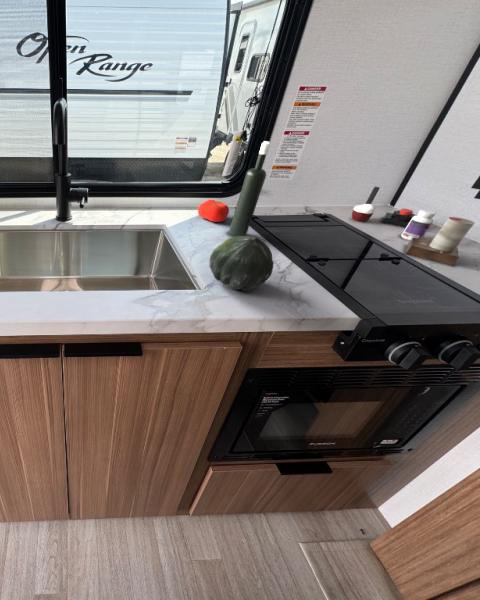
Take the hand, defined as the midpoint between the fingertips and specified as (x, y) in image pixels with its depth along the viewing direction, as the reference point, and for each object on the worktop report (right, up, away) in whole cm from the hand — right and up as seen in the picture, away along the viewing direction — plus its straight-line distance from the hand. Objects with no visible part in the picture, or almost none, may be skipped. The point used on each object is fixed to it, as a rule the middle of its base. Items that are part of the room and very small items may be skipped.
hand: (478, 194), depth 92 cm
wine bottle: (-58, -7, +22) cm, 63 cm away
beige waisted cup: (-1, -14, +9) cm, 17 cm away
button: (+10, +2, +31) cm, 33 cm away
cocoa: (-3, +1, +36) cm, 36 cm away
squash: (-72, -26, -4) cm, 76 cm away
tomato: (-63, +1, +34) cm, 71 cm away
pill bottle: (+3, -9, +22) cm, 24 cm away
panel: (-2, -16, +11) cm, 20 cm away
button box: (+10, -1, +33) cm, 35 cm away
